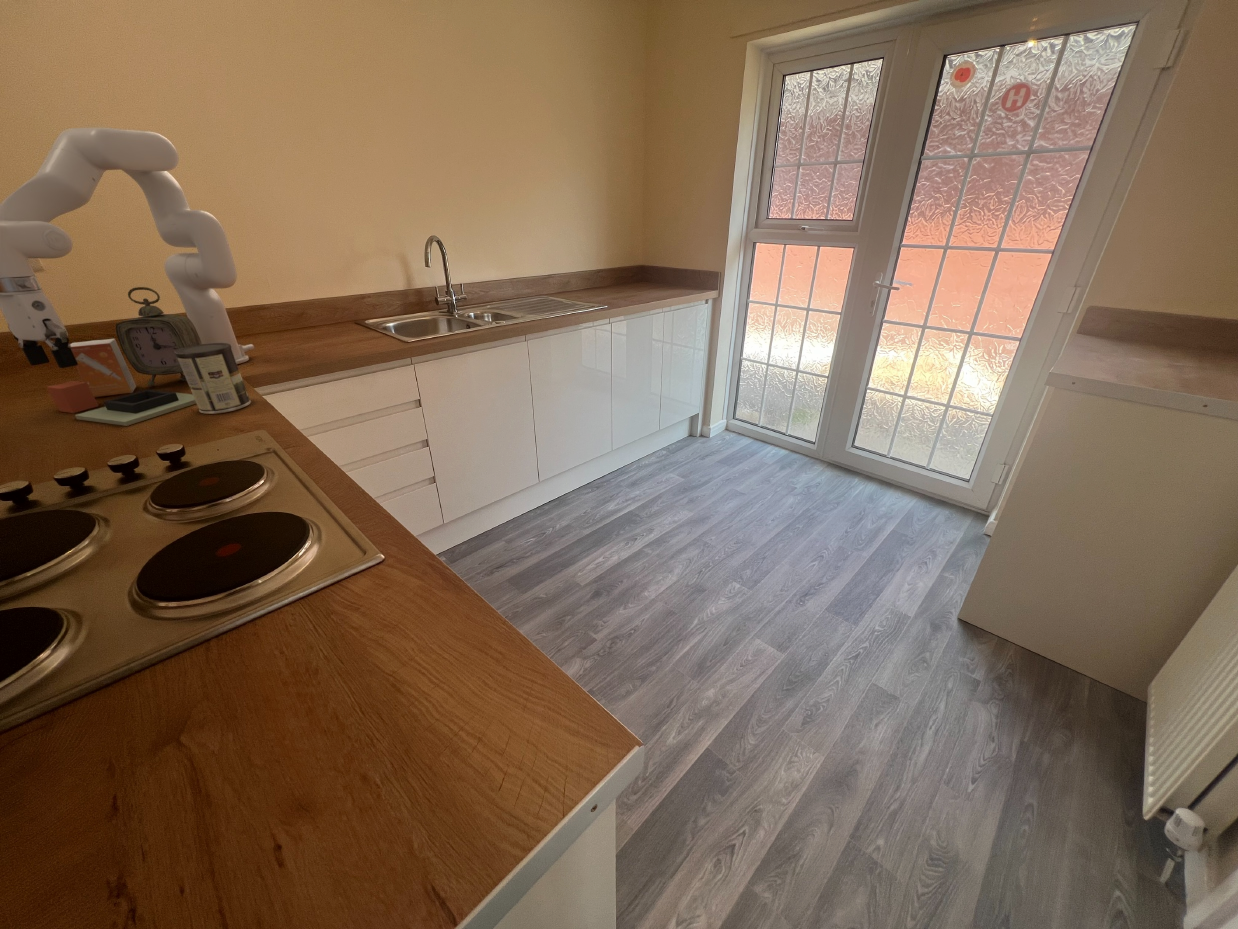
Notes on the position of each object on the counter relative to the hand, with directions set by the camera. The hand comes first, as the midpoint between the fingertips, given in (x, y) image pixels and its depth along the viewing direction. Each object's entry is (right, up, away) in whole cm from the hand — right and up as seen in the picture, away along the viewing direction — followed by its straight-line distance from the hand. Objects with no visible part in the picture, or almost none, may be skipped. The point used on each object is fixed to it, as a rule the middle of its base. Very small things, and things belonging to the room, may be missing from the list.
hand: (54, 365), depth 114 cm
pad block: (0, -9, +5) cm, 11 cm away
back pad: (+17, -10, +4) cm, 20 cm away
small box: (-2, -4, +16) cm, 17 cm away
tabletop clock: (+8, 0, +23) cm, 25 cm away
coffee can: (+35, -9, +5) cm, 36 cm away
